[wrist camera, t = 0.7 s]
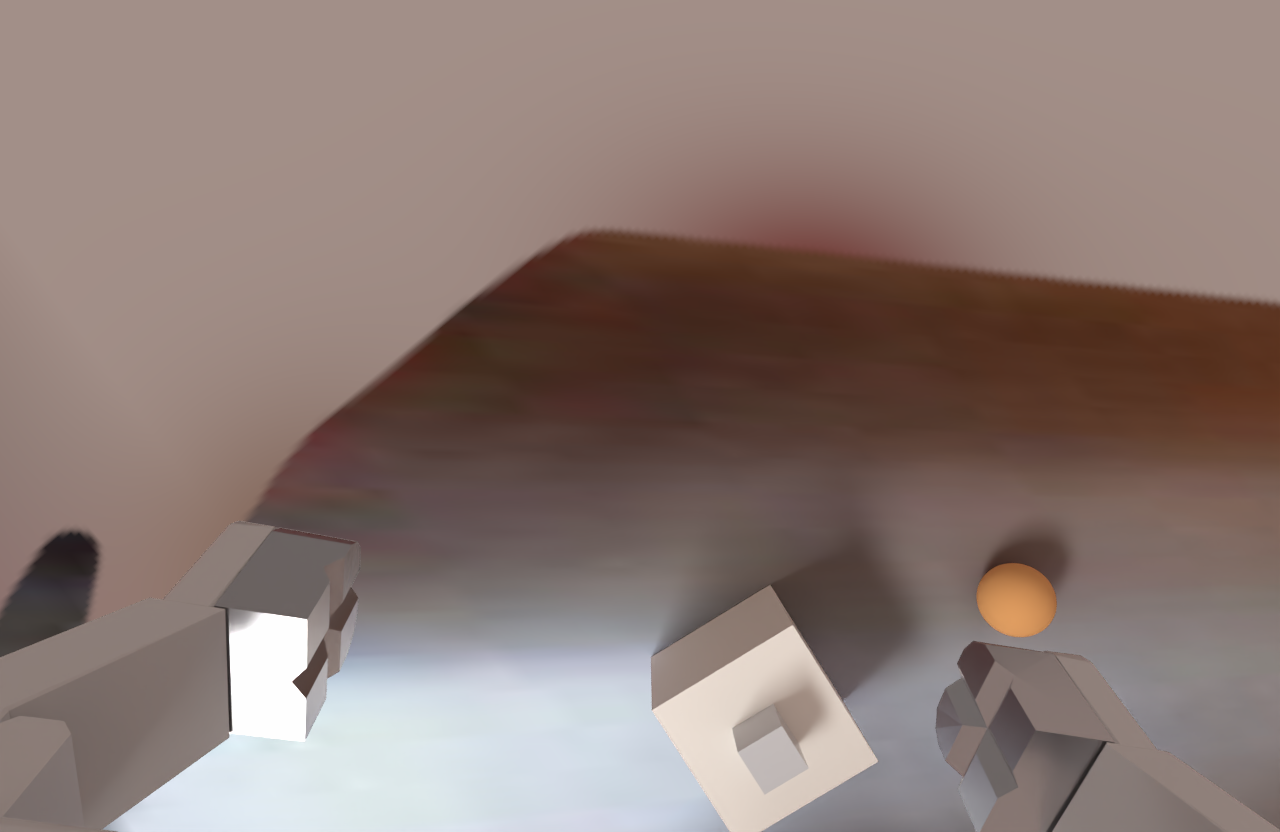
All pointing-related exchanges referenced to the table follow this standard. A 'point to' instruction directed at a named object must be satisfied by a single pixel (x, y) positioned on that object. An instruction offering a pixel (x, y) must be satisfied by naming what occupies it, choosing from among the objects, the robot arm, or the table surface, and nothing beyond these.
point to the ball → (1016, 600)
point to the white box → (755, 715)
